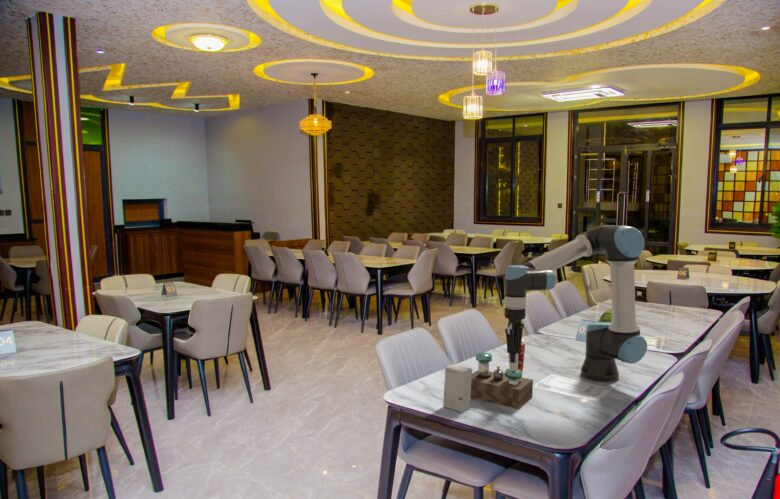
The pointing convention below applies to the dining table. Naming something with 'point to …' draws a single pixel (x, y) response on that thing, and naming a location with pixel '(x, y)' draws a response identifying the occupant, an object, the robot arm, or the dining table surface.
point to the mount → (501, 391)
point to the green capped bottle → (513, 376)
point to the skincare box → (457, 387)
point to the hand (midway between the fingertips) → (513, 370)
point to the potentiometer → (498, 374)
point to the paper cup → (520, 356)
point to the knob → (483, 364)
